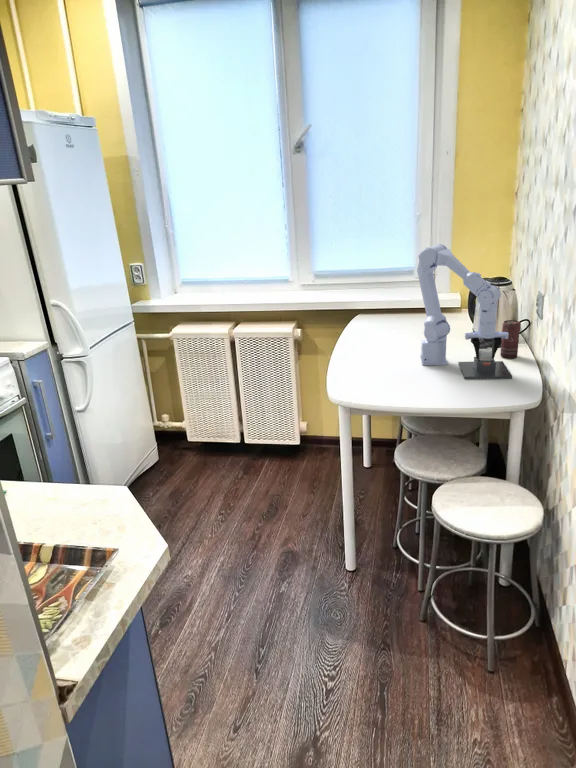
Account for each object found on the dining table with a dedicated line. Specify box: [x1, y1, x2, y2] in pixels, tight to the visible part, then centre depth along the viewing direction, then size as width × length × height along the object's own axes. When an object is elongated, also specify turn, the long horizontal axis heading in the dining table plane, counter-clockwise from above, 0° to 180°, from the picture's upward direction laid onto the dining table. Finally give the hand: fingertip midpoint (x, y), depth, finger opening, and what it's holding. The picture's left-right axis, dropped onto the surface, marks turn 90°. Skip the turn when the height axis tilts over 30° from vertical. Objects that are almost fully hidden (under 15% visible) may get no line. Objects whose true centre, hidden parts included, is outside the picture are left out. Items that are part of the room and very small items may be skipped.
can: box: [499, 319, 522, 360], centre depth 215 cm, size 6×6×14 cm
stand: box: [457, 356, 513, 380], centre depth 204 cm, size 16×16×4 cm
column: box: [478, 348, 492, 362], centre depth 203 cm, size 4×4×8 cm
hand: (484, 357), depth 203 cm, fingers open, 5 cm apart
